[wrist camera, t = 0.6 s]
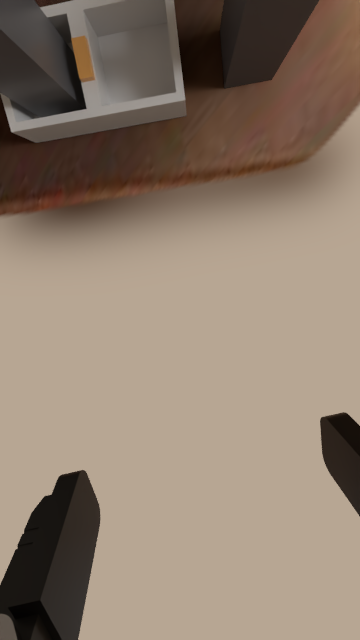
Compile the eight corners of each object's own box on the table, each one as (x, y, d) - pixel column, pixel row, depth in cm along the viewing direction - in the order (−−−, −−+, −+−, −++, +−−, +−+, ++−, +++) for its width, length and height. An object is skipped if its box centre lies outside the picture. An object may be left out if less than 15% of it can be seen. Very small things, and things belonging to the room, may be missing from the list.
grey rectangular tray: (36, 142, 28) (7, 130, 23) (11, 49, 25) (-27, 16, 21) (186, 115, 26) (184, 97, 22) (174, 15, 24) (170, -28, 20)
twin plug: (44, 119, 26) (-125, 15, 12) (30, 64, 25) (-177, -123, 11) (87, 111, 26) (-36, -6, 12) (75, 55, 25) (-79, -150, 11)
